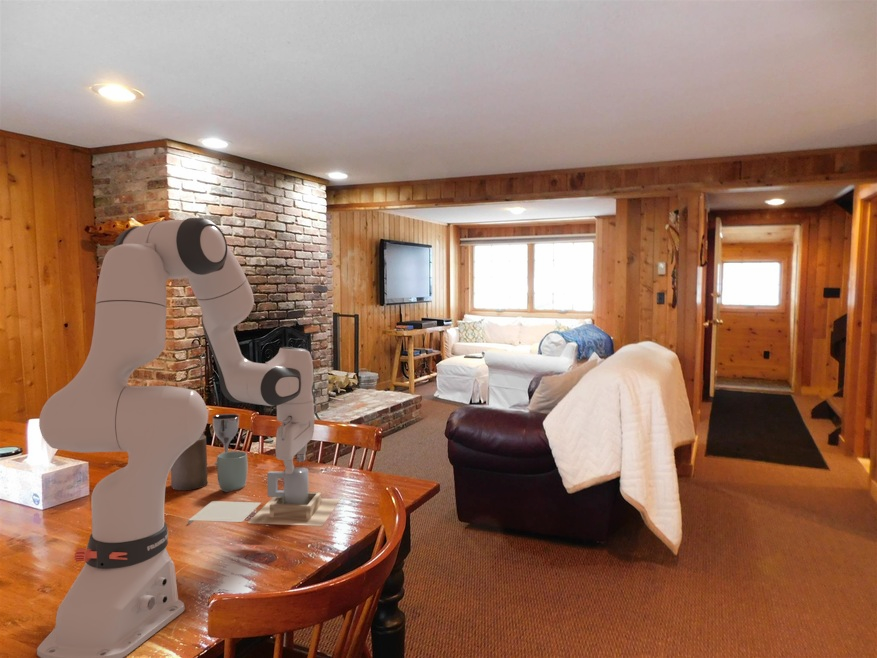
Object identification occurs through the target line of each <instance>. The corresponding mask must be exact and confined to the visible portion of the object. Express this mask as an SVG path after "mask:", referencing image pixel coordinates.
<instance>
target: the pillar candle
mask: <svg viewBox="0 0 877 658" xmlns="http://www.w3.org/2000/svg"><path fill="white" fill-rule="evenodd" d="M207 451H208V450H207V435H205V434H202V435H201V437H200V438H199V439H198V440H197V441H196V442H195V443H194V444H193V445H191V446H190V447H189V448H187V449H186V450H185V451H184V452H183V453H182V454H181V455H180V456H179V457H178V459H177V460H176V461H175V463H174V464H173V466H172V468H171V470H170V482H171V483H170V486H171V488H172V489H173V490H175V491H191V490H196V489H201V488H203V487H206V486H207V485H208V484H209V482H208V461H207V460H208V454H207Z"/></svg>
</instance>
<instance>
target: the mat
mask: <svg viewBox="0 0 877 658" xmlns="http://www.w3.org/2000/svg"><path fill="white" fill-rule="evenodd" d="M261 504H262V502H258V501H257V502H256V501H255V502H253V501H251V502H250V501H226V500H225V501H224V500H222V501H220V500H212V501H210V502H209V503H208V504H206V505H205V506H204V507H203V508H202V509H200V510H199V511H197V513H195V514H194V515H193V516H192V517H190V518H189V519H188V520H187V525H191V524H192V523H193V522H195V521H197V522H199V521H200V522H226V523H227V522H228V523H243V522H244V521H245V520H246V518H247V517H248V516H250V515H251V514H252V513H253V512H254V511H255V510H256V509H257V508H258V507H259V506H260V505H261Z"/></svg>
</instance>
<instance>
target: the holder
mask: <svg viewBox="0 0 877 658" xmlns="http://www.w3.org/2000/svg"><path fill="white" fill-rule="evenodd" d="M340 500H341V498H323V497H322V492H320V491H319V492H316V491H315V492H314V491H309V504H308V505H298V504H284V497H271V498H270V500H269V501H268V502H266V504H264V505H263V506H262V508H261V509H259V511H257V512H256V513H255V515H254V516H253V517H251V518H250V520H249V521H247V524H252V525H253V524H254V525H255V524H256V525H257V524H259V525H283V526H288V525H289V526H313V527H315V526H317V527H319V526H320V527H323V526H324V525H325V523H327V520H328V519H329V517H330V515H331V514H332V513H333V511H334V509H335V508H336V507H337V505H338V504H339V502H341V501H340Z"/></svg>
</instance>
